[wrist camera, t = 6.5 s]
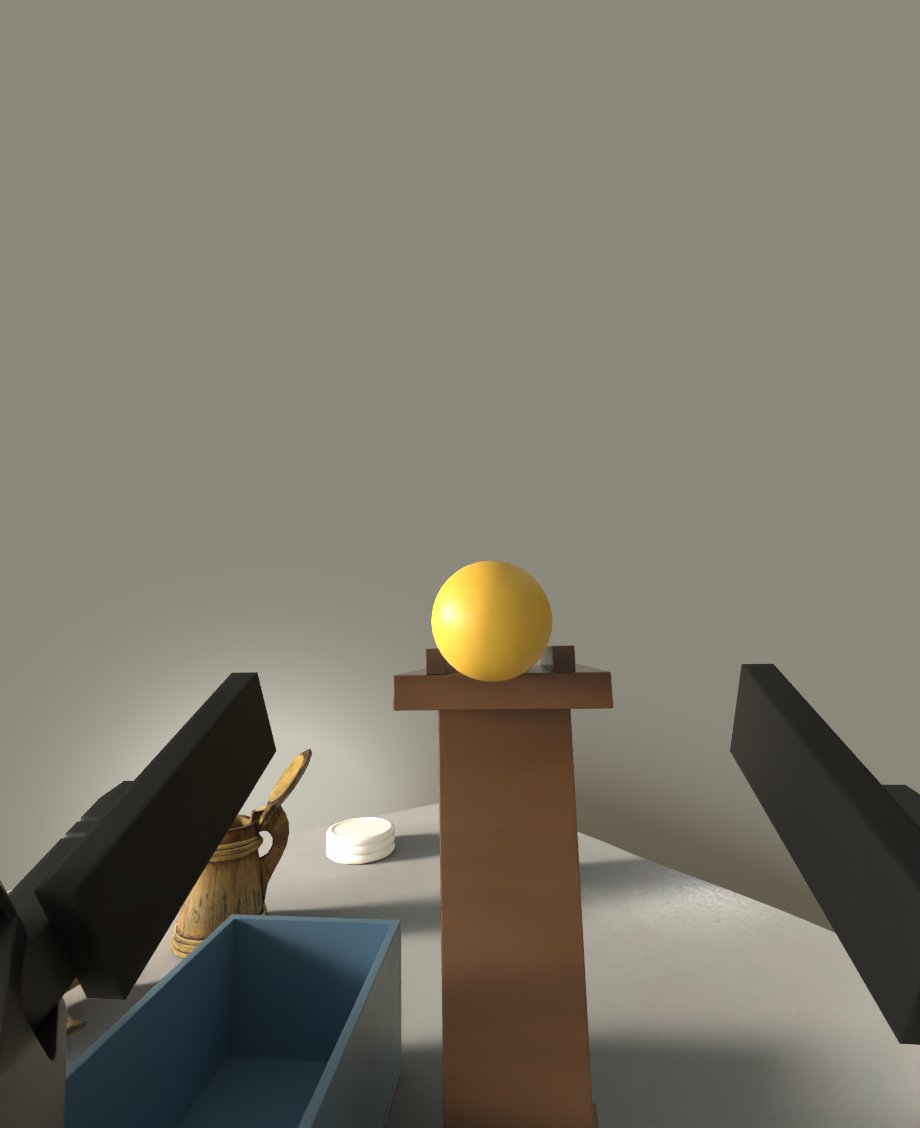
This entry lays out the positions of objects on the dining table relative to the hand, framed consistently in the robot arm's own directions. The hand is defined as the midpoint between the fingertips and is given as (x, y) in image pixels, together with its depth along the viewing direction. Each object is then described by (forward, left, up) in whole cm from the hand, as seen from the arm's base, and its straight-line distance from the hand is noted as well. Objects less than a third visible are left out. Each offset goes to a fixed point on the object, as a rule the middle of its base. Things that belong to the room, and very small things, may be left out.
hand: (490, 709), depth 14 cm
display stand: (-12, +10, -27) cm, 32 cm away
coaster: (-65, +24, -28) cm, 75 cm away
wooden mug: (-52, +5, -28) cm, 59 cm away
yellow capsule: (-9, +7, +3) cm, 12 cm away
